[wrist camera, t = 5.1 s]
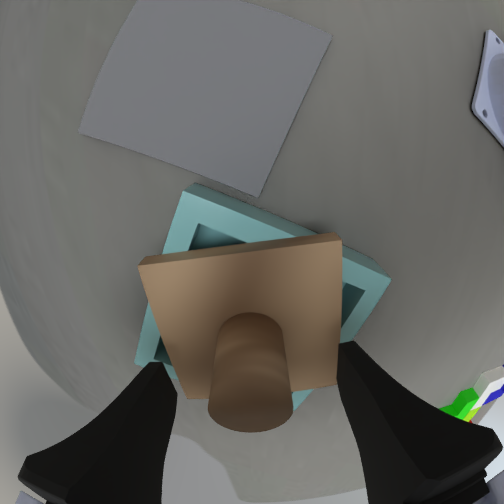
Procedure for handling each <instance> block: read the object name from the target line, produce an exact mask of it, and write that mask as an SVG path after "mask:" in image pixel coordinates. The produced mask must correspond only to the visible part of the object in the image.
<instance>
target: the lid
mask: <svg viewBox="0 0 504 504" xmlns="http://www.w3.org/2000/svg"><path fill="white" fill-rule="evenodd" d="M138 270H139V273H140V276H141V280H142V283H143V286H144V289H145V292H146V295H147V298H148V301H149V304H150V307H151V310H152V313H153V316H154V319H155V322H156V324H157V327H158V330H159V332H160V335H161V338H162V340H163V343H164V345H165V348H166V351H167V353H168V356H169V358H170V360H171V363H172V365H173V368H174V370H175V372H176V375H177V377H178V379H179V382H180V384H181V386H182V388H183V391H184V393H185V395H186V397H187V399H209V402H208V412H209V415H210V416H211V418H212V419H213V420H214V421H215V422H216V423H218V424H219V425H221V426H223V427H225V428H228V429H231V430H234V431H239V432H262V431H267V430H271V429H274V428H276V427H278V426H280V425H282V424H283V423H285V422H286V421H287V420H288V419H289V418H290V417H291V415H292V413H293V408H294V407H293V400H292V393H291V392H295V391H302V390H309V389H315V388H321V387H326V386H332V385H337V379H336V375H337V361H338V344H339V343H340V335H341V314H342V240H341V238H340V237H339V236H338V235H337V234H336V233H335V232H332V233H324V234H316V235H308V236H299V237H291V238H283V239H275V240H267V241H259V242H252V243H244V244H236V245H228V246H221V247H213V248H205V249H198V250H190V251H183V252H175V253H168V254H160V255H153V256H146V257H145V258H144V259H143V260H142V261H141V262H140V264H139V265H138Z"/></svg>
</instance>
